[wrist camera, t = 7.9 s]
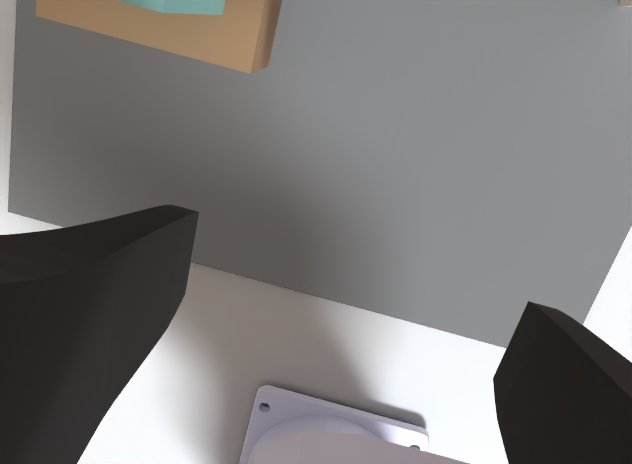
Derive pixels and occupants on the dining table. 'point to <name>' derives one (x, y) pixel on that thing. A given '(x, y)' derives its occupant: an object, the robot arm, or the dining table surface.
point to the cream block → (625, 3)
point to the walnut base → (180, 28)
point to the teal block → (181, 6)
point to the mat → (356, 151)
